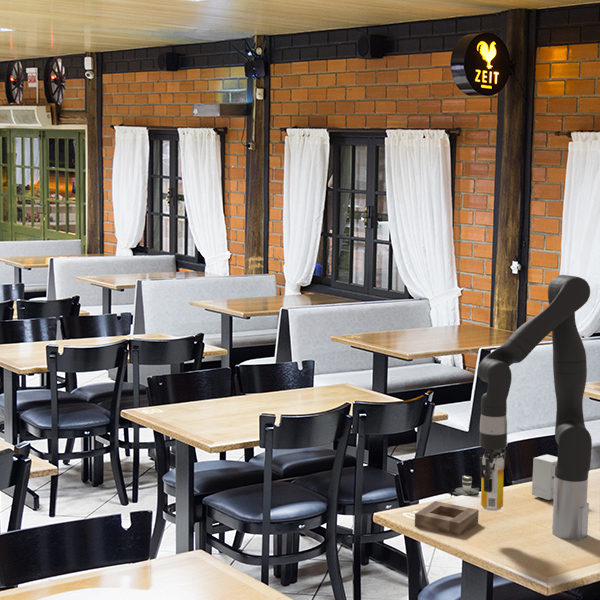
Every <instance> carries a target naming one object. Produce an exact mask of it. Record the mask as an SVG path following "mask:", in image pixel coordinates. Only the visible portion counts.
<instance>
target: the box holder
mask: <svg viewBox="0 0 600 600" xmlns="http://www.w3.org/2000/svg"><path fill="white" fill-rule="evenodd" d="M479 512H480V510H479V509H476V508H473V507H466V506H463V505H461V506H460V505H458V504H457V505H456V504H452V503H447V502H442V501H436V500H435V501H433V502H431V503H430V504H428V505H427V506H425V507H423V508H422V509H420V510H419V511H417V512H415V513H414V527H415V528H422V529H426V530H430V531H435V532H439V533H443V534H450V535H452V536H453V535H454V536H458V537H459V536H461V535H463V534H464V533H466V532H467V531H469V530H470V529H472V528H473V527H475V526H477V525H478V524H479Z"/></svg>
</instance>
